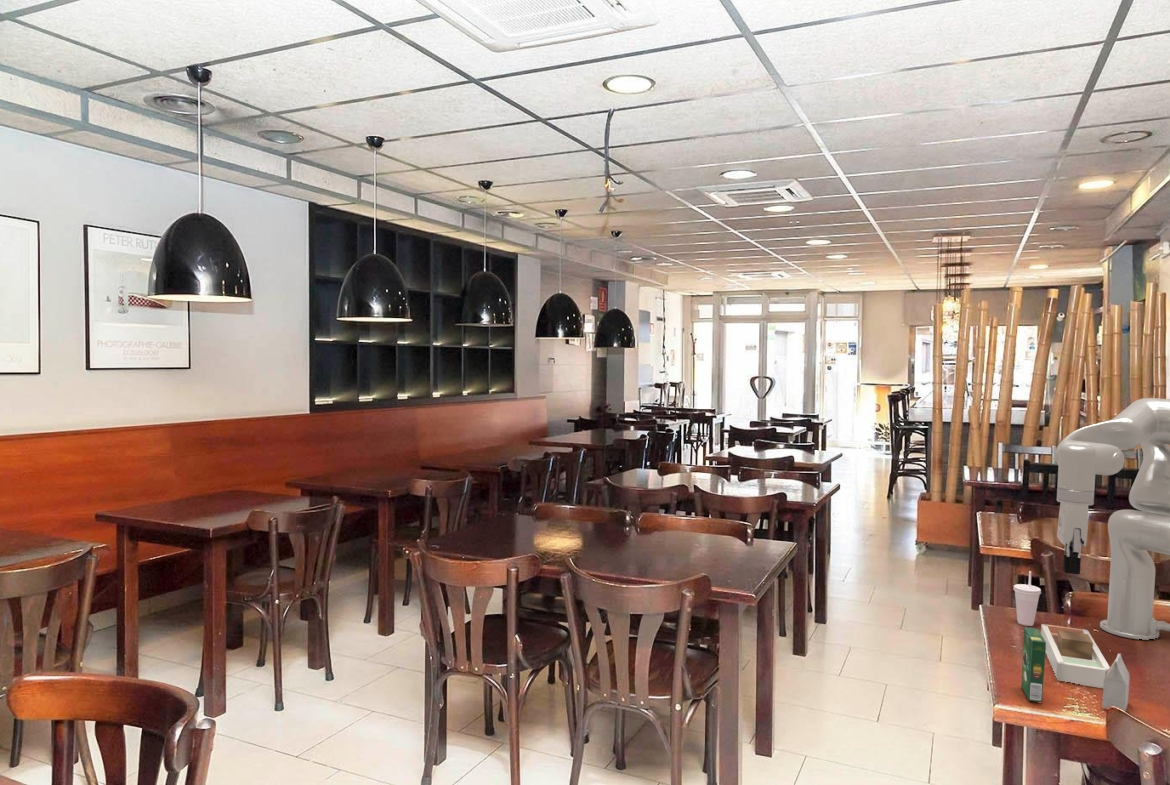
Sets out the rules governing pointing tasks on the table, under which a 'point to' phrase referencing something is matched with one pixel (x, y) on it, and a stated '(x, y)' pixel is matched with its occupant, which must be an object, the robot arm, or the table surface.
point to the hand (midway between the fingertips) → (1071, 572)
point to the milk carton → (1116, 685)
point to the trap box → (1074, 660)
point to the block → (1075, 645)
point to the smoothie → (1026, 602)
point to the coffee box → (1033, 664)
